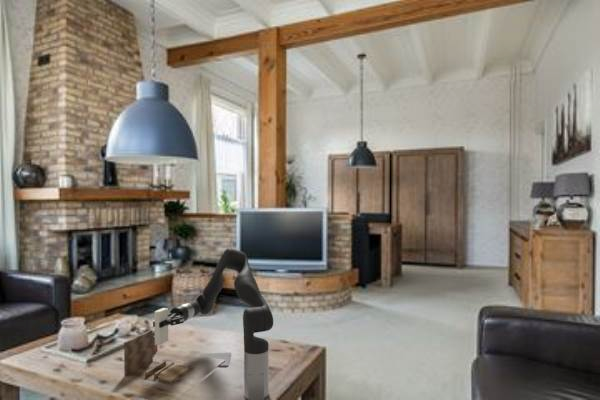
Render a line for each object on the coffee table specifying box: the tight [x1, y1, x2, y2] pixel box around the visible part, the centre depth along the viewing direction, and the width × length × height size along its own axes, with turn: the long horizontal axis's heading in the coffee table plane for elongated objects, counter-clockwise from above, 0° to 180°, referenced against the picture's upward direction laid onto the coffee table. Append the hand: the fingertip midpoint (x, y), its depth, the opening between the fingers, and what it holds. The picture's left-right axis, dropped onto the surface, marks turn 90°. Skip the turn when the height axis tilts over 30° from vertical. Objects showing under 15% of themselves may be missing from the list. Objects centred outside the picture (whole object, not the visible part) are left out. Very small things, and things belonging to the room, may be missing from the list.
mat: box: [199, 352, 232, 368], centre depth 185 cm, size 14×14×1 cm
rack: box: [123, 329, 195, 385], centre depth 171 cm, size 16×23×15 cm
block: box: [154, 307, 169, 346], centre depth 171 cm, size 6×2×14 cm, turn 160°
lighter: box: [153, 331, 158, 353], centre depth 193 cm, size 8×3×10 cm, turn 105°
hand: (156, 324), depth 168 cm, fingers closed on block, 2 cm apart
